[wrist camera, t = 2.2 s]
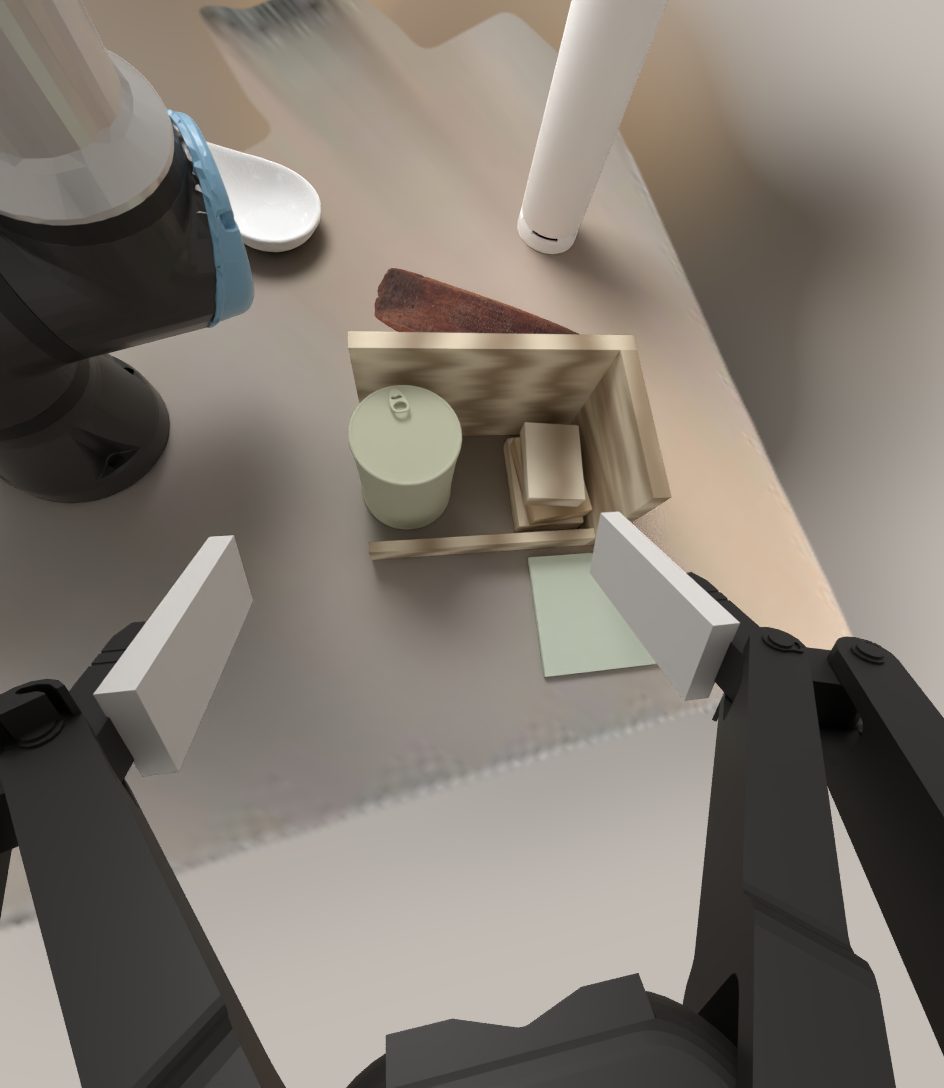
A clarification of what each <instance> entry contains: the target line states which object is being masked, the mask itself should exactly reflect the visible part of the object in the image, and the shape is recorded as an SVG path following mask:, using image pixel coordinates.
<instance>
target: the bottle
mask: <svg viewBox="0 0 944 1088" xmlns="http://www.w3.org/2000/svg"><path fill="white" fill-rule="evenodd" d="M667 1H668V0H572V1H571V6H570V9H569V13H568V18H567V22H566V26H565V30H564V34H563V38H562V42H561V46H560V51H559V55H558V59H557V63H556V67H555V71H554V75H553V79H552V83H551V88H550V92H549V96H548V100H547V104H546V108H545V112H544V116H543V121H542V125H541V129H540V133H539V137H538V141H537V145H536V149H535V153H534V158H533V162H532V166H531V170H530V174H529V178H528V182H527V186H526V190H525V195H524V199H523V203H522V208H521V211H520V215H519V219H518V223H517V225H518V232H519V234H520V236H521V238H522V240H523V241H524V242H525V243H526V244H527V245H528V246H530V247H531V248H533V249H534V250H536V251H539V252H542V253H546V254H558V253H563V252H565V251H566V250H568V249H569V248H570V247H571V246H572V245H573V244H574V241H575V238H576V236H577V233H578V230H579V227H580V225H581V223H582V220H583V218H584V215H585V213H586V210H587V208H588V205H589V202H590V200H591V197H592V195H593V192H594V190H595V187H596V184H597V182H598V179H599V177H600V174H601V172H602V169H603V166H604V164H605V161H606V159H607V156H608V154H609V151H610V148H611V146H612V143H613V141H614V138H615V135H616V133H617V130H618V128H619V125H620V122H621V120H622V117H623V115H624V112H625V110H626V107H627V105H628V102H629V99H630V97H631V94H632V92H633V89H634V87H635V84H636V81H637V79H638V76H639V74H640V71H641V69H642V66H643V63H644V61H645V58H646V55H647V53H648V50H649V48H650V45H651V43H652V40H653V37H654V35H655V32H656V30H657V27H658V24H659V22H660V19H661V17H662V14H663V12H664V9H665V7H666V4H667ZM532 231H535V232H536V233H538V234H540V235H542V236H544V237H547V238H553V239H558V240H557V241H552V240H547V239H544V238H541V237H539V236H537V235H536V234H534V233H533V232H532Z"/></svg>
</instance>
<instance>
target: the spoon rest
mask: <svg viewBox="0 0 944 1088" xmlns="http://www.w3.org/2000/svg"><path fill="white" fill-rule="evenodd" d="M206 143H207V145H208V147H209V149H210V151H211V153H212V156H213V158H214V160H215V163H216V165H217V168H218V170H219V173H220V175H221V178H222V180H223V183H224V186H225V188H226V191H227V194H228V197H229V200H230V204H231V207H232V211H233V214H234V220H235V221H236V223H237V225H238V227H239V230H240V233H241V236H242V239H243V242H244V244H246V245H248V246H250V247H252V248H254V249H258V250H261V251H267V252H283V251H288V250H291V249H294V248H296V247H298V246H300V245H301V244H303V243H304V242H305V241H307V240H308V239H309V238H310V236H311V235H312V234H313V232H314V231H315V229H316V228H317V226H318V224H319V222H320V218H321V211H322V210H321V202H320V198H319V196H318V194H317V192H316V191H315V189H314V188H313V187H312V186H311V185H310V183H309V182H308V181H306V180H305V179H304V178H303V177H302V176H300V175H299V174H297V173H296V172H294V171H292V170H290V169H288V168H287V167H284V166H282V165H280V164H277V163H275V162H272V161H269V160H266V159H263V158H259V157H256V156H253V155H249V154H246V153H242V152H238V151H235V150H232V149H229V148H225V147H222V146H219V145H215V144H211V143H208V142H206Z"/></svg>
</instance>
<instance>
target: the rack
mask: <svg viewBox="0 0 944 1088" xmlns="http://www.w3.org/2000/svg"><path fill="white" fill-rule="evenodd" d="M348 348H349V354H350V359H351V364H352V369H353V374H354V379H355V384H356V389H357V394H358V399H359V404H360V403H361V402H362V401H363V400H364V399H365V398H366V397H367V396H369V395H370V394H372V393H373V392H375V391H377V390H380V389H382V388H385V387H389V386H394V385H412V386H417V387H421V388H424V389H427V390H429V391H431V392H433V393H435V394H437V395H438V396H440V397H441V398H442V399H444V400H445V401H446V402H447V403H448V404H449V405H450V406H451V408H452V409H453V410H454V412H455V414H456V415H457V417H458V420H459V422H460V426H461V430H462V436H486V435H520V431H521V429H522V427H523V425H524V422H530V423H546V424H563V425H579V436H580V447H581V458H582V468H583V479H584V482H585V486H586V489H587V493H588V496H589V500H590V503H591V506H592V511H591V512H589V513H588V514H587V515H586V516H584V517H583V523H582V524H581V525H580V526H581V529H574V530H558V531H542V532H526V533H510V534H494V535H477V536H461V537H445V538H429V539H413V540H397V541H381V542H369V554H370V556H371V559H372V560H377V559H392V558H406V557H421V556H436V555H450V554H465V553H479V552H494V551H509V550H523V549H538V548H552V547H567V546H582V545H595V540H596V535H597V529H598V524H599V518H600V513H605V512H620V513H621V514H622V515H623V516H624V517H625V518H627V519H628V520H629V521H630V522H631V523H632V522H633V521H635V520H636V519H638V518H639V517H641V516H643V515H644V514H646V513H647V512H649V511H651V510H652V509H654V508H655V507H657V506H658V505H660V504H662V503H663V502H665V501H666V500H668V499H669V498H671V493H670V489H669V485H668V480H667V476H666V472H665V468H664V463H663V459H662V455H661V451H660V446H659V442H658V438H657V434H656V429H655V425H654V421H653V416H652V412H651V408H650V404H649V399H648V395H647V391H646V387H645V382H644V378H643V374H642V370H641V365H640V361H639V357H638V353H637V348H636V344H635V340H634V336H633V335H575V334H503V333H430V332H358V331H348Z"/></svg>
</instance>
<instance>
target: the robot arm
mask: <svg viewBox="0 0 944 1088" xmlns="http://www.w3.org/2000/svg"><path fill="white" fill-rule="evenodd" d="M253 299H254V284H253V277H252V272H251V268H250V264H249V260H248V256H247V252H246V249H245V245H244V242H243V239H242V236H241V233H240V230H239V227H238V225H237V223H236V221H235V220H234V214H233V211H232V207H231V204H230V200H229V197H228V194H227V191H226V188H225V186H224V183H223V180H222V178H221V175H220V173H219V170H218V168H217V165H216V163H215V160H214V158H213V156H212V153H211V151H210V149H209V147H208V145H207V143H206V141H205V139H204V137H203V135H202V133H201V131H200V129H199V128H198V126H197V125H196V123H195V122H194V121H193V120H192V118H191V117H189V116H188V115H187V114H184V113H181V112H174V111H172V110H169V109H166V108H165V106H164V104H163V102H162V100H161V98H160V96H159V95H158V94H157V92H156V91H155V89H154V88H153V87H152V85H151V84H150V83H149V82H148V81H147V80H146V78H145V77H144V76H143V75H142V74H141V73H140V72H139V71H137V70H136V69H135V68H134V67H133V66H132V65H130V64H129V63H128V62H126V61H125V60H123V59H122V58H120V57H119V56H117V55H116V54H114V53H112V52H110V51H109V50H107V49H105V47H104V45H103V43H102V41H101V39H100V37H99V35H98V33H97V31H96V29H95V27H94V25H93V23H92V21H91V19H90V17H89V15H88V13H87V11H86V9H85V8H84V5H83V3H82V1H81V0H0V479H1V480H3V481H4V482H6V483H7V484H9V485H11V486H13V487H15V488H18V489H20V490H22V491H24V492H27V493H29V494H31V495H33V496H36V497H39V498H42V499H45V500H49V501H55V502H66V503H76V502H86V501H92V500H96V499H100V498H104V497H107V496H110V495H112V494H115V493H117V492H119V491H121V490H123V489H125V488H127V487H128V486H130V485H132V484H133V483H135V482H136V481H137V480H139V479H140V478H141V477H142V476H144V475H145V474H146V473H147V472H148V471H149V470H150V469H151V467H152V466H153V465H154V464H155V463H156V461H157V460H158V458H159V457H160V455H161V453H162V451H163V449H164V447H165V444H166V441H167V438H168V432H169V417H168V412H167V408H166V405H165V403H164V401H163V399H162V397H161V396H160V394H159V393H158V392H157V391H156V389H155V388H154V387H153V386H152V385H151V384H150V383H149V382H148V381H147V380H146V379H145V378H144V377H143V376H142V375H141V374H140V373H139V372H138V371H137V370H135V369H134V368H133V367H131V366H130V365H128V364H127V363H125V362H123V361H121V360H119V359H117V358H115V357H113V356H111V355H110V354H108V353H111V352H114V351H118V350H122V349H126V348H130V347H134V346H137V345H141V344H145V343H149V342H153V341H156V340H160V339H164V338H168V337H172V336H176V335H179V334H183V333H187V332H191V331H195V330H198V329H202V328H206V327H208V328H210V327H214V326H215V325H216V324H218V322H220V321H223V320H226V319H229V318H231V317H234V316H237V315H240V314H242V313H244V312H246V311H247V310H248V309H249V308H250V306H251V304H252V302H253ZM589 573H590V574H591V575H592V577H593V578H594V580H595V581H596V582H597V584H598V585H599V586H600V588H601V589H602V590H603V592H604V593H605V594H606V596H607V597H608V598H609V600H610V601H611V603H612V604H613V605H614V607H615V608H616V609H617V611H618V612H619V613H620V615H621V616H622V617H623V619H624V620H625V621H626V623H627V624H628V626H629V627H630V628H631V630H632V631H633V632H634V634H635V635H636V636H637V638H638V639H639V640H640V642H641V643H642V644H643V646H644V647H645V649H646V650H647V651H648V653H649V654H650V655H651V657H652V658H653V659H654V661H655V662H656V663H657V665H658V666H659V667H660V669H661V670H662V672H663V673H664V674H665V676H666V677H667V678H668V680H669V681H670V682H671V684H672V685H673V686H674V688H675V689H676V690H677V692H678V693H679V695H680V696H681V697H682V699H683V700H684V701H688V700H695V699H702V698H709V695H710V693H711V690H712V688H713V686H714V683H715V682H716V683H717V685H718V686H719V687H720V688H721V689H722V690H723V692H724V694H723V696H722V698H721V701H720V703H719V705H718V707H717V710H716V712H715V714H714V716H713V719H712V720H714V721H717V719H718V728H717V738H716V747H715V758H714V767H713V777H712V787H711V797H710V807H709V817H708V818H709V819H708V828H707V837H706V848H705V857H704V867H703V868H704V869H703V877H702V887H701V898H700V907H699V918H698V927H697V937H696V947H695V955H694V960H693V965H692V969H691V972H690V975H689V979H688V982H687V986H686V990H685V995H684V1000H683V1005H682V1004H680V1003H678V1002H675V1001H674V1000H671V999H669V998H667V997H665V996H662V995H658V994H655V993H652V992H648V991H645V989H644V987H643V984H642V981H641V979H640V976H639V973H637V974H633V975H628V976H624V977H620V978H616V979H612V980H608V981H604V982H600V983H595V984H591V985H587V986H583V987H580V988H579V989H578V990H576V991H575V992H574V993H572V994H571V995H569V996H568V997H567V998H565V999H564V1000H562V1001H561V1002H559V1003H558V1004H557V1005H555V1006H554V1007H552V1008H551V1009H550V1010H548V1011H547V1012H545V1013H544V1014H543V1015H541V1016H540V1017H539V1018H537V1019H536V1020H534V1021H533V1022H532V1023H530V1024H529V1025H527V1026H524V1027H520V1028H518V1027H517V1028H516V1027H509V1026H502V1025H494V1024H487V1023H479V1022H472V1021H465V1020H458V1019H449V1020H445V1021H441V1022H437V1023H433V1024H430V1025H425V1026H421V1027H417V1028H413V1029H409V1030H405V1031H400V1032H397V1033H393V1034H388V1035H386V1054H384V1055H383V1056H381V1057H380V1058H378V1059H377V1060H375V1061H374V1062H372V1063H371V1064H370V1065H369V1066H368V1067H367V1068H366V1069H364V1070H363V1071H362V1072H361V1073H360V1074H359V1075H358V1076H356V1077H355V1078H354V1080H353V1081H352V1082H351V1083H350V1084H349V1085H348V1086H347V1088H896V1085H895V1080H894V1074H893V1068H892V1062H891V1056H890V1051H889V1045H888V1039H887V1034H886V1028H885V1022H884V1016H883V1010H882V1005H881V999H880V993H879V990H878V986H877V982H876V979H875V975H874V973H873V971H872V970H871V968H870V966H869V964H868V962H866V961H865V960H863V959H862V958H860V957H859V956H857V955H856V954H854V952H853V950H852V948H851V946H850V942H849V938H848V931H847V924H846V917H845V910H844V902H843V896H842V889H841V881H840V874H839V867H838V860H837V853H836V845H835V838H834V831H833V824H832V817H831V810H830V803H829V795H828V789H827V786H828V788H829V791H830V793H831V795H832V798H833V800H834V802H835V805H836V807H837V809H838V811H839V814H840V816H841V819H842V821H843V823H844V825H845V828H846V830H847V832H848V835H849V837H850V839H851V842H852V844H853V846H854V849H855V851H856V853H857V856H858V858H859V860H860V862H861V865H862V867H863V870H864V872H865V874H866V877H867V879H868V881H869V883H870V886H871V888H872V891H873V893H874V895H875V897H876V900H877V902H878V904H879V906H880V909H881V911H882V914H883V916H884V918H885V921H886V923H887V925H888V928H889V930H890V932H891V935H892V937H893V939H894V941H895V944H896V946H897V949H898V951H899V953H900V956H901V958H902V960H903V962H904V965H905V967H906V969H907V972H908V974H909V976H910V979H911V981H912V983H913V985H914V988H915V990H916V993H917V995H918V997H919V1000H920V1002H921V1004H922V1006H923V1009H924V1011H925V1014H926V1016H927V1018H928V1021H929V1023H930V1025H931V1027H932V1030H933V1032H934V1034H935V1037H936V1039H937V1041H938V1044H939V1046H940V1048H941V1051H942V1053H943V1055H944V718H943V717H942V715H941V714H940V713H939V712H938V710H937V709H936V708H935V706H934V705H933V704H932V702H931V701H930V700H929V699H928V697H927V696H926V695H925V694H924V692H923V691H922V690H921V688H920V687H919V686H918V685H917V683H916V682H915V681H914V679H913V678H912V677H911V676H910V674H909V673H908V672H907V670H906V669H905V668H904V667H903V665H902V664H901V663H900V662H899V660H898V659H897V658H896V657H895V656H894V655H893V654H892V653H890V652H889V651H887V650H886V649H884V648H882V647H881V646H880V645H877V644H876V643H872V642H871V641H868V640H864V639H860V638H856V637H842V638H838V640H837V641H836V643H835V645H834V646H833V648H832V650H823V649H815V648H807V647H806V646H805V645H804V644H803V643H802V642H800V641H799V640H798V639H797V638H795V637H793V636H792V635H790V634H789V633H786V632H783V631H781V630H778V629H774V628H769V627H759V626H758V625H757V624H756V623H755V622H754V621H752V620H751V619H750V618H749V617H748V616H747V615H746V614H745V613H743V612H742V611H741V610H740V609H739V608H738V607H737V606H735V605H734V604H733V603H732V602H731V601H728V600H727V598H726V597H725V596H724V595H723V594H722V593H721V592H718V590H717V589H716V588H715V587H714V586H713V585H712V584H710V583H709V582H708V581H707V580H705V579H703V578H701V577H700V576H698V575H696V574H694V573H692V572H689V573H685V572H684V571H683V570H682V569H681V568H680V567H679V566H678V565H677V564H676V563H674V562H673V561H672V560H671V559H670V558H669V557H668V556H667V555H666V554H665V553H664V552H662V551H661V550H660V549H659V548H658V547H657V546H656V545H655V544H654V543H653V542H652V541H651V540H649V539H648V538H647V537H646V536H645V535H644V534H643V533H642V532H641V531H640V530H639V529H637V528H636V527H635V526H634V525H633V524H632V523H631V522H630V521H629V520H628V519H627V518H625V517H624V516H623V515H622V514H621V513H620V512H605V513H600V518H599V524H598V529H597V535H596V540H595V545H594V551H593V556H592V562H591V567H590V572H589ZM252 603H253V599H252V596H251V592H250V589H249V585H248V582H247V578H246V575H245V572H244V568H243V565H242V561H241V558H240V554H239V551H238V548H237V544H236V541H235V537H234V535H230V536H214V537H209V538H208V539H207V540H206V542H205V543H204V545H203V546H202V547H201V549H200V550H199V551H198V553H197V554H196V555H195V557H194V558H193V559H192V561H191V562H190V564H189V565H188V566H187V568H186V569H185V570H184V572H183V573H182V574H181V576H180V577H179V578H178V580H177V581H176V583H175V584H174V585H173V587H172V588H171V589H170V591H169V592H168V593H167V595H166V596H165V597H164V599H163V600H162V602H161V603H160V604H159V606H158V607H157V608H156V610H155V611H154V612H153V614H152V615H151V616H150V618H149V619H148V621H146V622H134V623H131V624H130V625H128V626H127V627H125V628H124V629H123V630H121V631H120V632H119V633H117V634H116V635H114V636H113V637H112V638H111V640H110V641H109V642H108V643H107V645H106V646H105V647H104V648H103V650H102V651H101V652H102V653H101V654H99V655H98V656H97V657H96V658H95V660H94V661H93V662H92V663H91V664H92V666H90V667H88V668H87V670H86V671H85V672H84V673H83V675H82V676H81V677H80V678H79V680H78V681H77V682H76V683H75V685H74V686H73V687H72V688H71V690H70V691H69V692H68V690H67V688H66V687H65V685H64V684H62V683H61V682H60V681H59V680H52V679H43V680H37V681H31V682H29V683H26V684H23V685H20V686H17V687H14V688H12V689H10V690H9V691H7V692H5V693H3V694H1V695H0V917H1V911H2V905H3V899H4V893H5V887H6V881H7V875H8V869H9V863H10V857H11V851H12V849H13V848H15V847H18V846H19V849H20V853H21V856H22V860H23V864H24V868H25V872H26V876H27V879H28V883H29V887H30V891H31V895H32V899H33V902H34V906H35V910H36V914H37V918H38V921H39V925H40V929H41V933H42V937H43V940H44V944H45V948H46V952H47V956H48V959H49V964H50V967H51V971H52V975H53V979H54V983H55V987H56V990H57V994H58V998H59V1002H60V1006H61V1009H62V1013H63V1017H64V1020H65V1025H66V1028H67V1032H68V1036H69V1040H70V1044H71V1047H72V1051H73V1055H74V1059H75V1063H76V1067H77V1071H78V1074H79V1078H80V1082H81V1086H82V1088H286V1087H285V1085H284V1084H283V1082H282V1080H281V1079H280V1077H279V1075H278V1074H277V1072H276V1070H275V1069H274V1067H273V1065H272V1063H271V1061H270V1059H269V1058H268V1055H267V1054H266V1052H265V1050H264V1048H263V1046H262V1044H261V1042H260V1040H259V1038H258V1036H257V1034H256V1032H255V1030H254V1028H253V1026H252V1024H251V1023H250V1021H249V1019H248V1017H247V1015H246V1013H245V1011H244V1009H243V1007H242V1005H241V1003H240V1001H239V999H238V997H237V995H236V993H235V991H234V989H233V987H232V985H231V984H230V982H229V980H228V978H227V976H226V974H225V972H224V970H223V968H222V966H221V964H220V962H219V960H218V958H217V956H216V954H215V952H214V951H213V948H212V946H211V945H210V943H209V941H208V939H207V937H206V935H205V933H204V931H203V929H202V927H201V925H200V923H199V921H198V920H197V917H196V915H195V913H194V912H193V909H192V908H191V906H190V904H189V902H188V900H187V898H186V896H185V894H184V892H183V890H182V888H181V886H180V884H179V882H178V880H177V878H176V876H175V874H174V872H173V871H172V869H171V867H170V865H169V863H168V861H167V859H166V857H165V855H164V853H163V851H162V849H161V847H160V845H159V843H158V841H157V839H156V837H155V835H154V834H153V832H152V830H151V828H150V826H149V824H148V822H147V820H146V818H145V816H144V814H143V812H142V810H141V808H140V806H139V804H138V802H137V800H136V798H135V797H134V795H133V793H132V791H131V789H130V787H129V785H128V784H127V782H126V780H125V779H124V778H125V776H126V774H127V772H128V771H129V769H130V767H131V765H132V763H133V762H134V763H135V765H136V766H137V768H138V770H139V771H140V773H141V775H142V776H143V777H145V776H152V775H159V774H166V773H173V772H179V770H180V768H181V765H182V763H183V761H184V759H185V756H186V754H187V752H188V749H189V747H190V745H191V742H192V740H193V738H194V736H195V733H196V731H197V729H198V726H199V724H200V722H201V720H202V717H203V715H204V713H205V710H206V708H207V706H208V703H209V701H210V699H211V697H212V694H213V692H214V690H215V687H216V685H217V683H218V681H219V678H220V676H221V674H222V671H223V669H224V667H225V665H226V662H227V660H228V658H229V655H230V653H231V651H232V648H233V646H234V644H235V642H236V639H237V637H238V635H239V632H240V630H241V628H242V626H243V623H244V621H245V619H246V616H247V614H248V612H249V609H250V607H251V605H252Z"/></svg>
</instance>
